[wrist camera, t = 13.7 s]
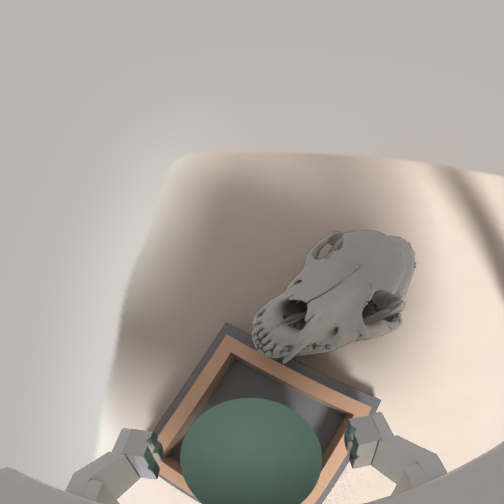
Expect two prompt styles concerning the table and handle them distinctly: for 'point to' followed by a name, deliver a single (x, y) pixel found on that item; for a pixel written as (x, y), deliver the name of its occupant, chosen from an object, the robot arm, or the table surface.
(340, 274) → the skull
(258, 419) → the green cylinder
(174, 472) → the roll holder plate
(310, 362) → the table surface
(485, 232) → the table surface
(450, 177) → the table surface
